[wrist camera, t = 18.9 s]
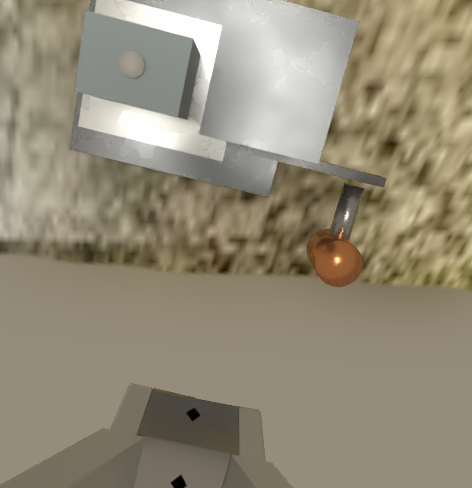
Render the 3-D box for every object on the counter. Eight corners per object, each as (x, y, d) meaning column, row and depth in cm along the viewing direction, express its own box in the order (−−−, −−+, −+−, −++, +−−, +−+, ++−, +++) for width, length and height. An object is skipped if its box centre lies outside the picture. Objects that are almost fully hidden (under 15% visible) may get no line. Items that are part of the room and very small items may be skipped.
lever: (301, 263, 32) (310, 281, 28) (326, 177, 30) (339, 184, 26) (340, 272, 32) (354, 291, 28) (367, 187, 30) (386, 195, 27)
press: (75, 148, 37) (-72, 161, 19) (101, -31, 33) (-48, -213, 16) (333, 211, 38) (415, 276, 21) (383, 44, 35) (532, -47, 17)
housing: (101, 98, 34) (71, 90, 28) (111, 32, 33) (83, 8, 27) (187, 119, 35) (177, 116, 28) (200, 55, 33) (192, 36, 27)
